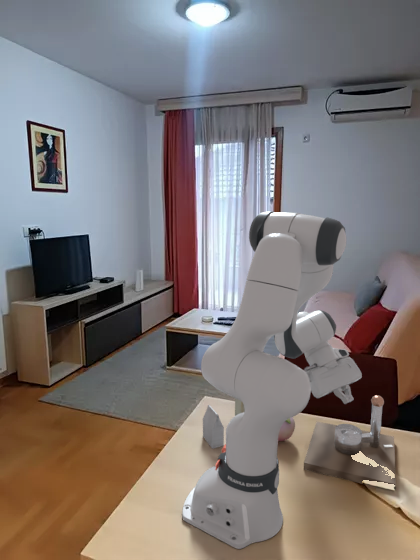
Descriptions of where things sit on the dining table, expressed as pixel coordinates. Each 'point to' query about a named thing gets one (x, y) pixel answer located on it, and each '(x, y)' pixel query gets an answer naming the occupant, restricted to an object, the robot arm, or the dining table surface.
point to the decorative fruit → (286, 429)
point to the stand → (348, 457)
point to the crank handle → (352, 437)
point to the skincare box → (239, 407)
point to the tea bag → (213, 428)
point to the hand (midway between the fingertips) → (349, 402)
